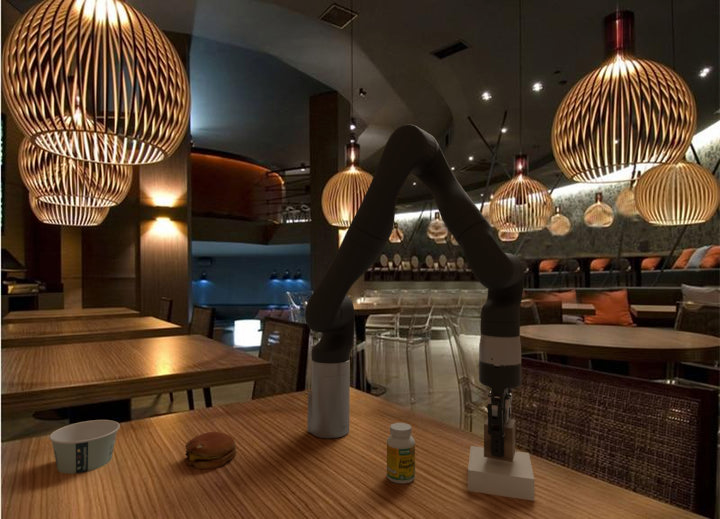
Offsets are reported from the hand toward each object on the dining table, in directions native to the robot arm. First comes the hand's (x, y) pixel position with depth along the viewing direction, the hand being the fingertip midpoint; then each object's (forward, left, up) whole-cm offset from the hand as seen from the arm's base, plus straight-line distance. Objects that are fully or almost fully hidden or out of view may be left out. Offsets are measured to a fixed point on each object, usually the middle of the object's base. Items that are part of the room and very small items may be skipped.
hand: (499, 449), depth 81 cm
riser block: (0, 0, -6) cm, 6 cm away
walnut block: (0, 0, -1) cm, 1 cm away
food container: (-76, -29, -6) cm, 81 cm away
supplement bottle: (-17, -7, -6) cm, 19 cm away
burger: (-55, -17, -6) cm, 57 cm away
